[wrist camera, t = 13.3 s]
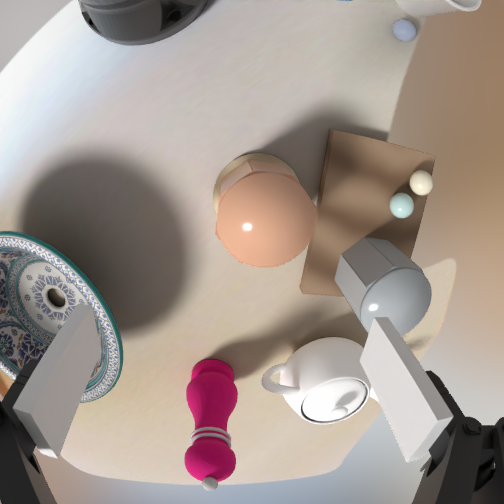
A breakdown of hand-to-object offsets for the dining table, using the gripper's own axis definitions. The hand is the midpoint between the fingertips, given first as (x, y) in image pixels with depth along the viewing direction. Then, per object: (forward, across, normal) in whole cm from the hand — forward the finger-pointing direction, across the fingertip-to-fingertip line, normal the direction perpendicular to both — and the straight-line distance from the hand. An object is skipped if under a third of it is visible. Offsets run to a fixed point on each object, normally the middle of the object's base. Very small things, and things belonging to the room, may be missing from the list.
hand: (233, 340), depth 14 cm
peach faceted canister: (+24, +3, +1) cm, 24 cm away
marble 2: (+22, +18, +3) cm, 29 cm away
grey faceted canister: (+23, +18, -7) cm, 30 cm away
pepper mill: (+24, -1, -26) cm, 36 cm away
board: (+24, +17, -1) cm, 30 cm away
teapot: (+25, +16, -24) cm, 38 cm away
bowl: (+25, -24, -14) cm, 37 cm away
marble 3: (+22, +20, +6) cm, 30 cm away
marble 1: (+24, +19, +24) cm, 39 cm away
